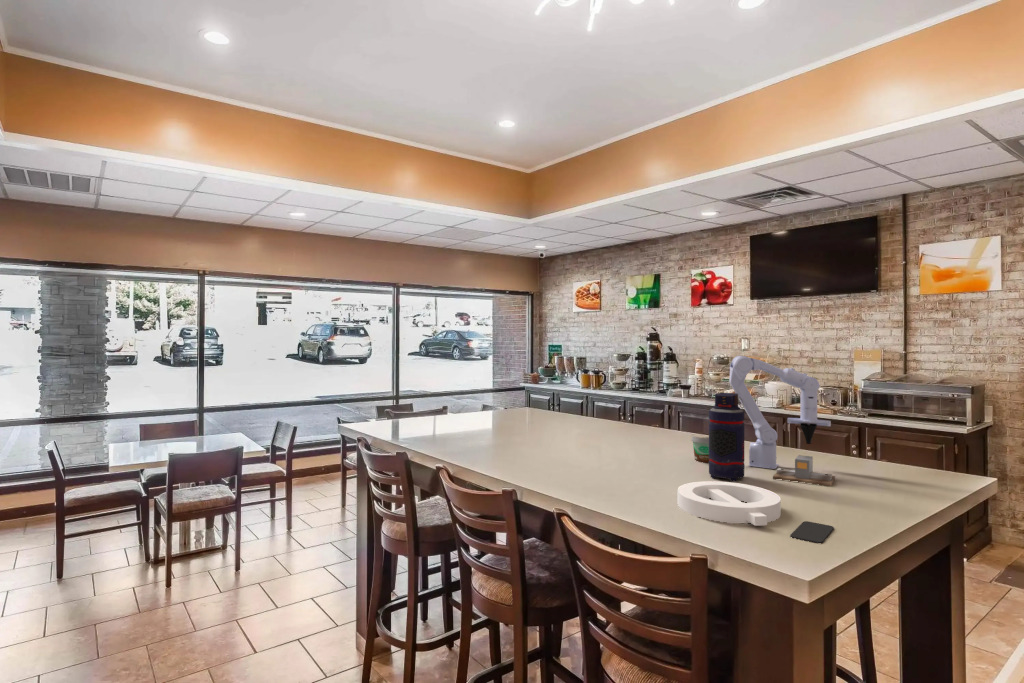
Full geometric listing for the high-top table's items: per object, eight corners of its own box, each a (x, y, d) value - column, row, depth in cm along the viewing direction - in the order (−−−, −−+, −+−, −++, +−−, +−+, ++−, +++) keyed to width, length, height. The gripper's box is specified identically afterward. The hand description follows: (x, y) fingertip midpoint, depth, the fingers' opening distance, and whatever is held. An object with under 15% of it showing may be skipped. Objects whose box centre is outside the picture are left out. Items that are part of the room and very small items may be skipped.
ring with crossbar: (697, 491, 185) (697, 476, 185) (791, 507, 168) (791, 491, 168) (661, 511, 163) (662, 495, 163) (764, 532, 146) (764, 514, 146)
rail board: (772, 479, 200) (772, 471, 200) (779, 472, 210) (779, 465, 210) (831, 486, 189) (831, 478, 189) (834, 479, 199) (834, 471, 199)
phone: (788, 535, 141) (803, 520, 153) (788, 539, 141) (803, 523, 153) (821, 542, 136) (835, 526, 148) (821, 546, 136) (835, 529, 148)
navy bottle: (738, 483, 194) (739, 395, 194) (704, 478, 201) (704, 393, 201) (749, 475, 205) (749, 392, 205) (716, 471, 212) (716, 390, 212)
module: (794, 477, 198) (794, 459, 198) (798, 473, 204) (798, 455, 204) (809, 479, 195) (809, 460, 195) (812, 474, 202) (812, 456, 202)
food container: (691, 462, 226) (691, 437, 226) (690, 459, 232) (690, 435, 232) (724, 464, 223) (724, 439, 223) (723, 461, 229) (723, 436, 229)
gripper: (786, 407, 217) (786, 443, 217) (829, 410, 209) (829, 447, 209) (789, 405, 223) (789, 440, 223) (831, 408, 215) (831, 444, 215)
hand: (808, 443), depth 216 cm, fingers closed
